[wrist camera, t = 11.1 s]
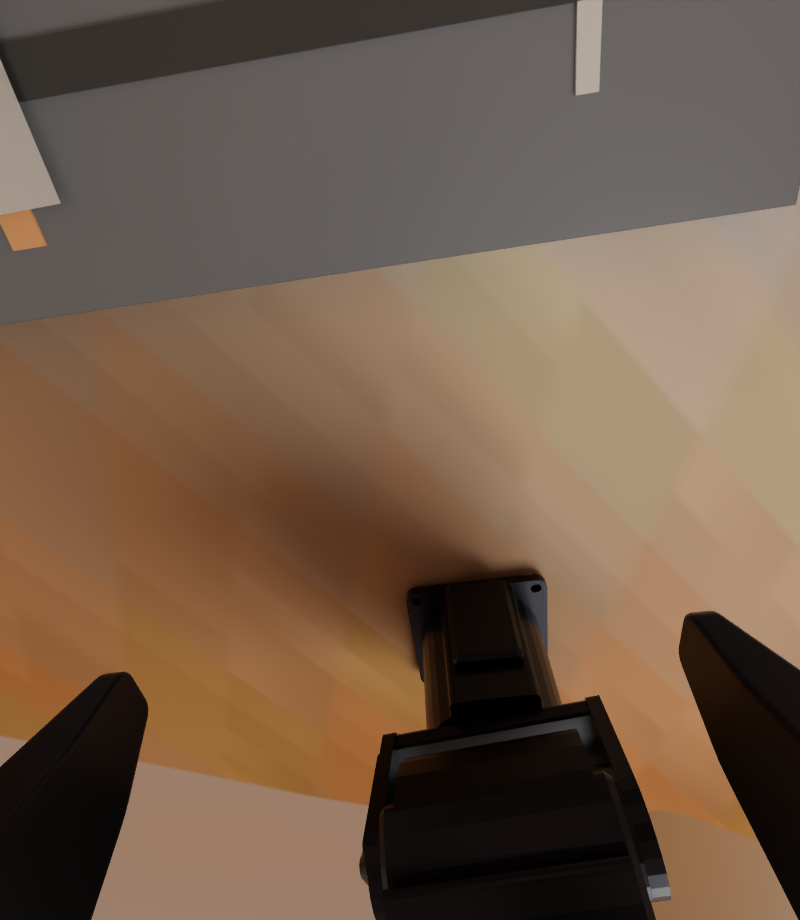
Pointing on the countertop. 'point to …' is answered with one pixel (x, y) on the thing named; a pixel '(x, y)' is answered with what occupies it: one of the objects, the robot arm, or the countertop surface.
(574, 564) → the countertop surface
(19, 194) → the fader tab
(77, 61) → the fader console
